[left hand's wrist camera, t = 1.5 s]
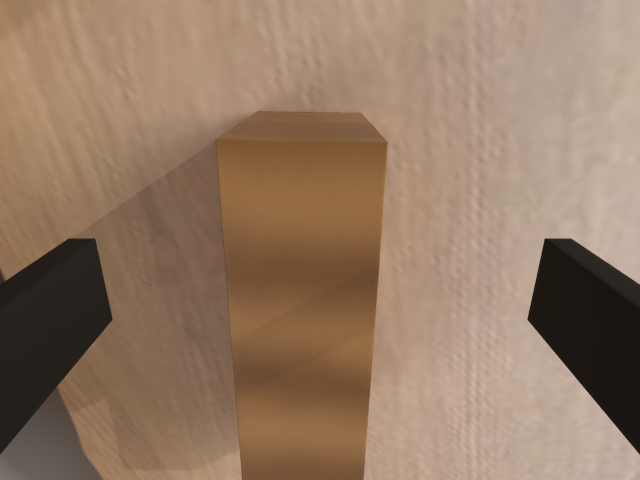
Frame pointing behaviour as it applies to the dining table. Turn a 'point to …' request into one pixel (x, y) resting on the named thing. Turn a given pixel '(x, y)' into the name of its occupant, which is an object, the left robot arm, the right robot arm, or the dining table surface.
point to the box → (302, 287)
